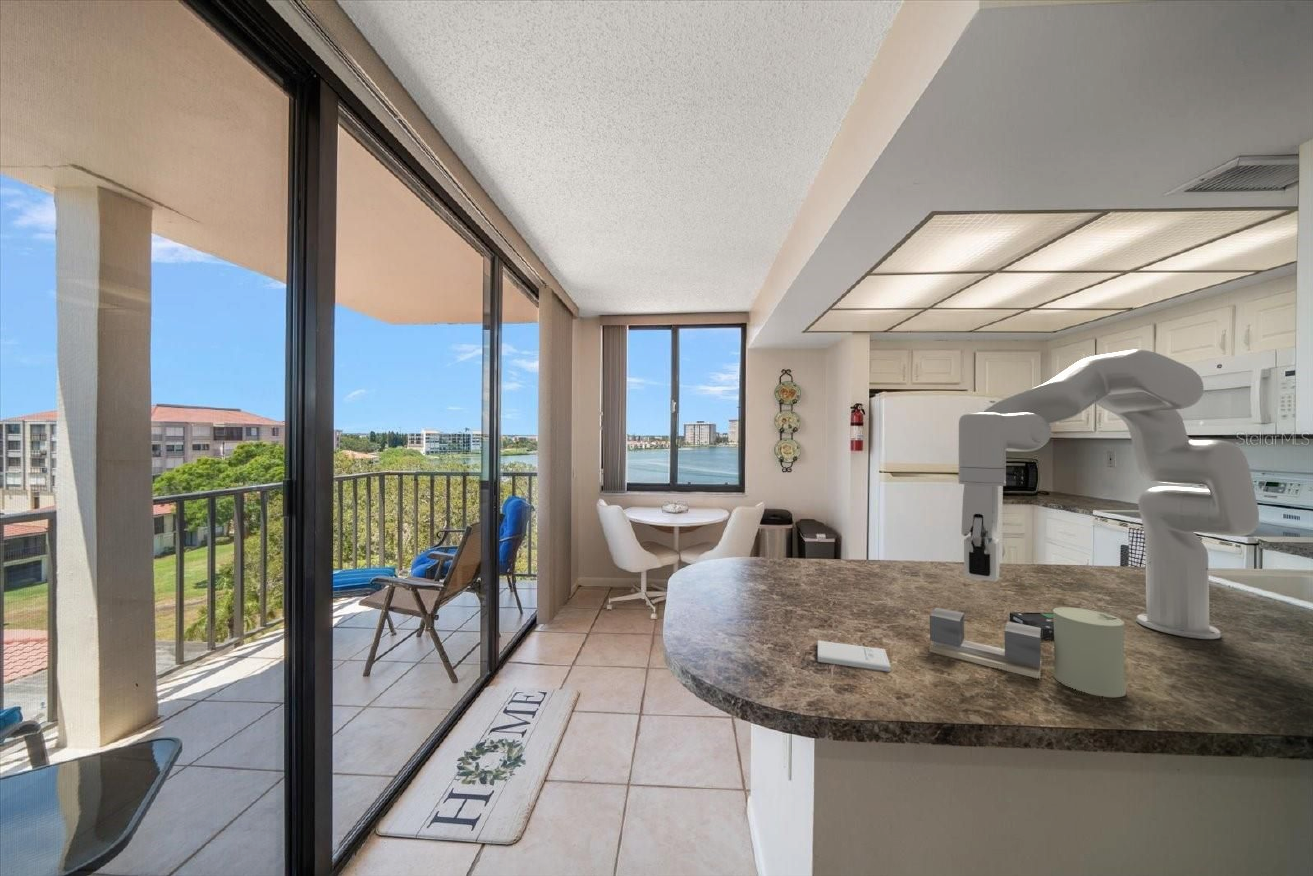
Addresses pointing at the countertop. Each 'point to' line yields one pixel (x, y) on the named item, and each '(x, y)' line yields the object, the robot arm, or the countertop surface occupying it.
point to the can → (1089, 651)
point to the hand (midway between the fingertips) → (981, 570)
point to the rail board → (1016, 656)
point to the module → (994, 560)
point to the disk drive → (1036, 621)
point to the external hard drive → (853, 656)
